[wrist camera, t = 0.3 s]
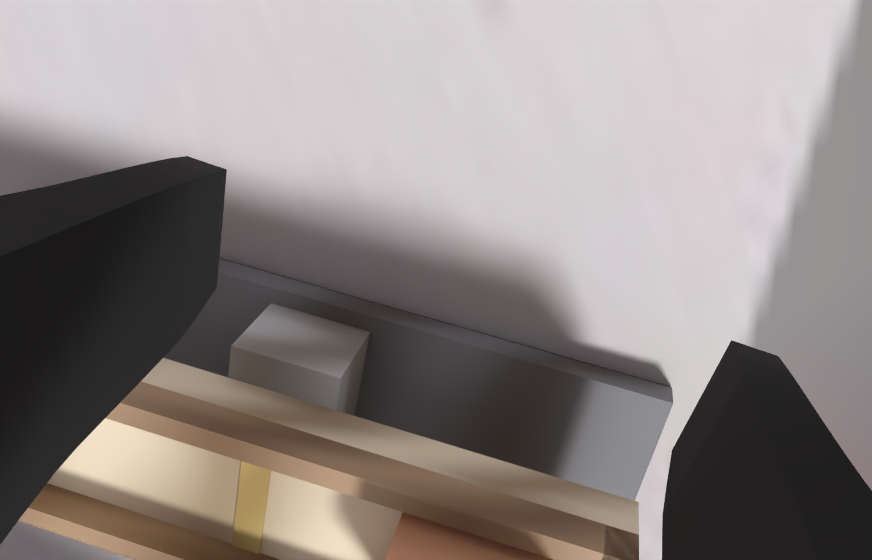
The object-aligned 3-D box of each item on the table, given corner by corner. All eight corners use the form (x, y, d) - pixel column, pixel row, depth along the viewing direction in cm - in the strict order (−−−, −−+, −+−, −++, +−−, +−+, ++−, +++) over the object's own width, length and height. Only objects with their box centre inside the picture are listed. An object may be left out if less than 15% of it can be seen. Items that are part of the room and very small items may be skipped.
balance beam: (671, 387, 23) (683, 521, 18) (591, 592, 26) (581, 752, 21) (22, 202, 25) (-131, 273, 20) (29, 413, 28) (-100, 519, 23)
